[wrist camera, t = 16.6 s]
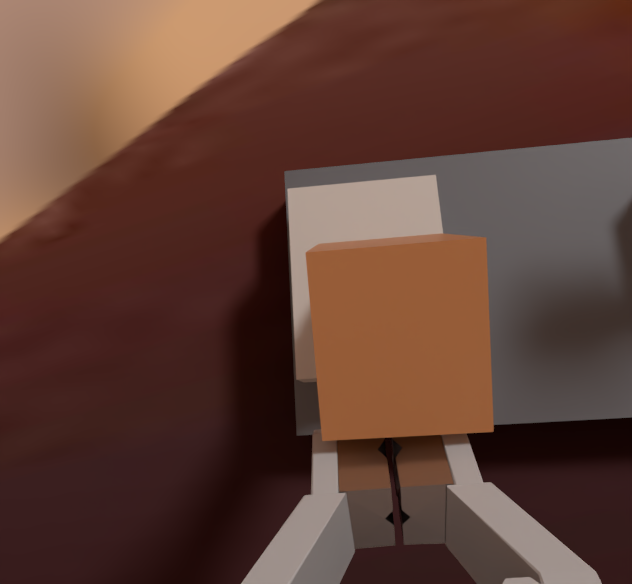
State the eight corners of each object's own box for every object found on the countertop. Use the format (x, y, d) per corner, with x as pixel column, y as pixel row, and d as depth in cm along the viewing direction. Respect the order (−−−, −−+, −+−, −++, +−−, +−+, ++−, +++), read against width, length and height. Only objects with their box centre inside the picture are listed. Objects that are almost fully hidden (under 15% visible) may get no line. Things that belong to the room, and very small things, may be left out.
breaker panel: (743, 152, 27) (846, 84, 22) (816, 403, 24) (960, 404, 18) (292, 194, 29) (275, 142, 24) (303, 432, 26) (287, 440, 20)
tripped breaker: (405, 229, 20) (486, 237, 8) (410, 313, 21) (493, 431, 9) (329, 236, 21) (305, 252, 9) (336, 318, 21) (322, 440, 9)
